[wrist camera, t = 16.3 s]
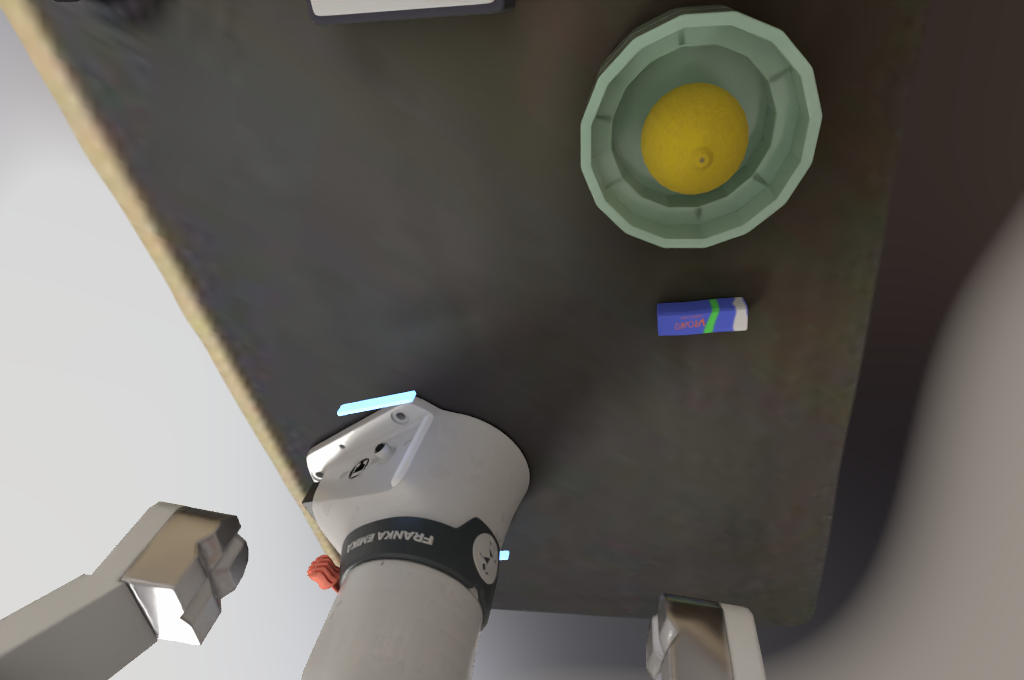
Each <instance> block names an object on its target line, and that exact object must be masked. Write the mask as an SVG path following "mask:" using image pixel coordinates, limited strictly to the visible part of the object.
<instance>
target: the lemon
mask: <svg viewBox="0 0 1024 680" xmlns="http://www.w3.org/2000/svg"><path fill="white" fill-rule="evenodd" d="M748 141H749V127H748V123H747V119H746V115H745V112H744V110H743V109H742V107H741V105H740V104H739V102H738V100H737V99H736V98H735V97H733V96H732V95H731V94H730V93H729V92H728V91H727V90H725V89H723V88H720V87H718V86H716V85H714V84H708V83H701V82H698V83H690V84H684V85H682V86H679V87H677V88H674V89H672V90H671V91H669V92H668V93H666V94H665V95H664V96H662V97H661V98H660V99H659V100H658V101H657V103H656V104H655V105H654V106H653V107H652V108H651V110H650V112H649V114H648V116H647V117H646V119H645V123H644V126H643V129H642V133H641V151H642V155H643V160H644V163H645V165H646V166H647V168H648V170H649V172H650V174H651V175H652V176H653V177H654V178H655V179H656V180H657V181H658V182H659V183H660V184H661V185H663V186H664V187H666V188H668V189H669V190H671V191H674V192H678V193H681V194H693V195H696V194H701V193H706V192H709V191H711V190H713V189H716V188H718V187H720V186H721V185H722V184H724V183H725V182H726V181H728V180H729V179H730V178H731V177H732V176H733V175H734V173H735V172H736V171H737V170H738V168H739V166H740V165H741V163H742V161H743V159H744V157H745V153H746V150H747V146H748Z"/></svg>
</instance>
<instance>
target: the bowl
mask: <svg viewBox="0 0 1024 680" xmlns="http://www.w3.org/2000/svg"><path fill="white" fill-rule="evenodd" d="M698 82H701V83H708V84H714V85H716V86H718V87H720V88H723V89H725V90H727V91H728V92H729V93H730V94H731V95H732V96H733V97H735V98H736V99H737V100H738V102H739V104H740V105H741V107H742V109H743V110H744V112H745V115H746V119H747V123H748V127H749V141H748V146H747V150H746V153H745V157H744V159H743V161H742V163H741V165H740V166H739V168H738V170H737V171H736V172H735V173H734V175H733V176H732V177H731V178H730V179H729V180H728V181H726V182H725V183H724V184H722V185H721V186H720V187H718V188H716V189H713V190H711V191H709V192H706V193H701V194H696V195H693V194H681V193H678V192H674V191H671V190H669V189H668V188H666V187H664V186H663V185H661V184H660V183H659V182H658V181H657V180H656V179H655V178H654V177H653V176H652V175H651V174H650V172H649V170H648V168H647V166H646V165H645V163H644V160H643V155H642V151H641V133H642V129H643V126H644V123H645V119H646V117H647V116H648V114H649V112H650V110H651V108H652V107H653V106H654V105H655V104H656V103H657V101H658V100H659V99H660V98H661V97H662V96H664V95H665V94H666V93H668V92H669V91H671V90H672V89H674V88H677V87H679V86H682V85H684V84H690V83H698ZM821 121H822V110H821V105H820V100H819V96H818V91H817V86H816V81H815V76H814V71H813V69H812V66H811V65H810V64H809V62H808V61H807V60H806V59H805V57H804V56H803V55H802V54H801V53H800V51H799V50H798V49H797V48H796V46H795V45H794V44H793V43H792V41H791V40H790V39H789V38H788V37H787V35H786V34H785V33H784V32H783V31H782V30H781V29H779V28H776V27H774V26H772V25H770V24H768V23H766V22H763V21H761V20H759V19H756V18H754V17H752V16H749V15H747V14H744V13H742V12H739V11H737V10H735V9H732V8H730V7H727V6H725V5H705V6H690V7H677V8H676V9H675V8H674V9H672V10H670V11H668V12H666V13H664V14H662V15H660V16H658V17H656V18H654V19H652V20H650V21H648V22H646V23H644V24H642V25H640V26H638V27H636V28H634V29H633V30H632V31H631V32H630V33H629V34H628V35H627V36H626V37H625V38H624V40H623V41H622V42H621V43H620V44H619V45H618V46H617V47H616V48H615V50H614V51H613V52H612V53H611V54H610V55H609V56H608V57H607V59H606V60H605V61H604V62H603V63H602V65H601V66H600V69H599V71H598V74H597V76H596V79H595V81H594V84H593V87H592V89H591V92H590V94H589V97H588V99H587V102H586V104H585V108H584V112H583V116H582V120H581V170H582V172H583V175H584V177H585V179H586V182H587V184H588V186H589V189H590V191H591V194H592V196H593V198H594V201H595V203H596V205H597V207H598V208H599V209H600V210H602V211H603V212H604V213H605V214H606V215H607V216H608V217H609V218H610V219H611V220H612V221H613V222H614V223H615V224H616V225H617V226H618V227H619V228H620V229H621V230H622V231H623V232H625V233H626V234H629V235H631V236H634V237H636V238H639V239H642V240H644V241H647V242H649V243H652V244H654V245H657V246H660V247H663V248H706V247H709V246H712V245H715V244H718V243H721V242H724V241H727V240H730V239H732V238H735V237H738V236H741V235H744V234H747V233H748V232H750V231H751V230H752V229H754V228H755V227H756V226H757V225H759V224H760V223H761V222H763V221H764V220H765V219H767V218H768V217H769V216H770V215H772V214H773V213H774V212H776V211H777V210H778V209H779V208H781V207H782V206H783V205H784V204H786V202H787V201H788V199H789V198H790V196H791V195H792V193H793V191H794V190H795V188H796V187H797V185H798V184H799V182H800V181H801V179H802V178H803V176H804V175H805V173H806V172H807V170H808V169H809V167H810V166H811V163H812V161H813V157H814V152H815V148H816V143H817V139H818V134H819V130H820V125H821Z"/></svg>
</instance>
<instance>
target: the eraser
mask: <svg viewBox="0 0 1024 680" xmlns="http://www.w3.org/2000/svg"><path fill="white" fill-rule="evenodd" d="M747 322H748V306H747V304H746V302H745V300H744V298H743V297H734V298H718V299H708V300H699V301H690V302H676V303H659V304H657V325H658V335H660V336H665V335H691V334H701V333H711V332H723V331H743V330H747Z"/></svg>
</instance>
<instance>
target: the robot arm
mask: <svg viewBox="0 0 1024 680" xmlns="http://www.w3.org/2000/svg"><path fill="white" fill-rule="evenodd" d="M415 395H416V392H415V391H410V392H405V393H400V394H395V395H390V396H385V397H380V398H375V399H370V400H365V401H360V402H355V403H350V404H344V405H342V406H341V407H340V409H339V411H338V412H337V414H338V416H341V415H346V414H352V413H357V412H362V411H367V410H372V409H378V408H382V409H380V410H378V411H377V412H375V413H373V414H371V415H369V416H368V417H366V418H364V419H362V420H361V421H359V422H357V423H355V424H353V425H352V426H350V427H348V428H346V429H344V430H343V431H341V432H339V433H337V434H335V435H334V436H332V437H330V438H328V439H327V440H325V441H323V442H321V443H319V444H318V445H316V446H314V447H313V448H311V449H310V451H309V453H308V455H307V465H308V469H309V472H310V474H311V477H312V479H313V480H314V483H313V485H312V486H311V488H310V490H309V491H308V493H307V495H306V496H305V498H304V500H303V502H302V504H303V505H304V507H305V508H306V509H307V511H308V512H309V513H310V514H311V516H312V517H313V518H314V520H315V521H316V522H317V524H318V525H319V527H320V529H321V530H322V532H323V533H324V535H325V536H326V537H327V538H328V540H329V541H330V542H331V544H332V545H333V546H334V547H335V549H336V550H337V551H338V552H339V554H340V555H341V561H340V568H339V567H337V566H335V565H334V563H333V561H332V560H331V558H330V557H329V556H328V555H322V556H320V557H318V558H316V560H315V561H313V562H312V563H311V564H312V565H311V566H309V570H308V571H307V573H308V576H309V577H310V578H311V579H312V580H314V581H315V582H317V583H318V584H319V587H320V588H321V589H329V588H331V587H332V588H333V589H334V590H335V591H336V592H337V593H338V594H337V597H336V599H335V601H334V603H333V605H332V608H331V610H330V612H329V614H328V617H327V619H326V621H325V624H324V626H323V628H322V630H321V633H320V635H319V637H318V639H317V641H316V644H315V646H314V648H313V651H312V653H311V655H310V657H309V659H308V662H307V664H306V667H305V668H304V671H303V675H302V680H472V674H473V668H474V662H475V657H476V650H477V646H478V641H479V636H480V632H481V631H482V630H483V628H484V627H485V626H486V624H487V621H488V618H489V614H490V610H491V606H492V602H493V597H494V593H495V588H496V583H497V577H498V569H499V560H507V559H508V556H509V552H508V551H500V550H501V547H502V544H503V541H504V539H505V536H506V533H507V531H508V528H509V525H510V523H511V521H512V518H513V516H514V514H515V512H516V510H517V508H518V506H519V504H520V502H521V501H522V499H523V497H524V496H525V494H526V492H527V489H528V486H529V481H530V474H529V468H528V465H527V462H526V460H525V457H524V456H523V454H522V452H521V451H520V449H519V448H518V447H517V446H516V444H515V443H514V442H513V441H512V440H511V439H510V438H509V437H507V436H506V435H505V434H504V433H502V432H501V431H500V430H498V429H497V428H495V427H493V426H492V425H490V424H488V423H486V422H484V421H481V420H479V419H476V418H474V417H471V416H467V415H463V414H459V413H454V412H449V411H445V410H442V409H439V408H437V407H436V406H434V405H432V404H430V403H428V402H427V401H425V400H423V399H420V398H418V397H415ZM383 407H384V408H383ZM401 413H403V414H404V415H403V414H401ZM240 528H241V525H240V523H239V520H238V518H237V516H234V515H229V514H224V513H218V512H213V511H207V510H202V509H196V508H191V507H187V506H183V505H177V504H171V503H165V502H158V503H157V504H155V505H153V506H152V507H150V508H149V509H148V510H147V511H146V513H145V514H144V515H143V516H142V517H141V519H140V520H139V521H138V522H137V523H136V524H135V525H134V526H133V528H132V529H131V530H130V531H129V532H128V533H127V534H126V536H125V537H124V538H123V539H122V540H121V541H120V543H119V544H118V545H117V546H116V547H115V548H114V550H113V551H112V552H111V553H110V554H109V555H108V556H107V558H106V559H105V560H104V561H103V562H102V563H101V565H100V566H99V567H98V568H97V569H96V570H95V572H94V573H93V574H92V575H85V574H83V575H81V576H80V577H78V578H76V579H74V580H72V581H71V582H69V583H67V584H65V585H63V586H61V587H60V588H58V589H56V590H54V591H52V592H51V593H49V594H47V595H45V596H43V597H42V598H40V599H38V600H36V601H34V602H32V603H31V604H29V605H27V606H25V607H23V608H21V609H20V610H18V611H16V612H14V613H12V614H11V615H9V616H7V617H5V618H3V619H2V620H0V680H108V679H109V678H110V677H112V676H113V675H114V674H115V673H117V672H118V671H119V670H121V669H122V668H123V667H125V666H126V665H127V664H128V663H130V662H131V661H132V660H134V659H135V658H136V657H137V656H139V655H140V654H141V653H143V652H144V651H145V650H146V649H148V648H149V647H150V646H152V645H153V644H154V643H155V642H157V638H161V639H166V640H172V641H178V642H183V643H189V644H195V645H201V644H202V642H203V641H204V639H205V637H206V636H207V634H208V632H209V631H210V629H211V627H212V626H213V624H214V623H215V621H216V619H217V618H218V616H219V615H220V613H221V598H223V597H224V596H226V595H227V594H229V593H230V592H232V591H233V590H235V588H236V587H237V585H238V583H239V582H240V580H241V578H242V577H243V574H244V571H245V568H246V565H247V562H248V546H247V543H246V541H245V540H244V539H243V538H242V537H241V536H240V535H238V534H237V532H238V531H239V529H240ZM657 609H658V614H657V615H655V616H653V617H652V619H651V622H650V625H649V630H648V636H647V648H646V664H647V665H646V666H647V671H648V673H649V675H650V676H651V678H652V680H766V676H765V671H764V666H763V661H762V656H761V651H760V646H759V641H758V636H757V631H756V627H755V622H754V617H753V615H752V613H751V611H750V609H748V608H746V607H741V606H735V605H730V604H724V603H718V602H716V601H710V600H704V599H698V598H691V597H685V596H679V595H673V594H667V593H663V594H661V595H660V597H659V600H658V602H657Z"/></svg>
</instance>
